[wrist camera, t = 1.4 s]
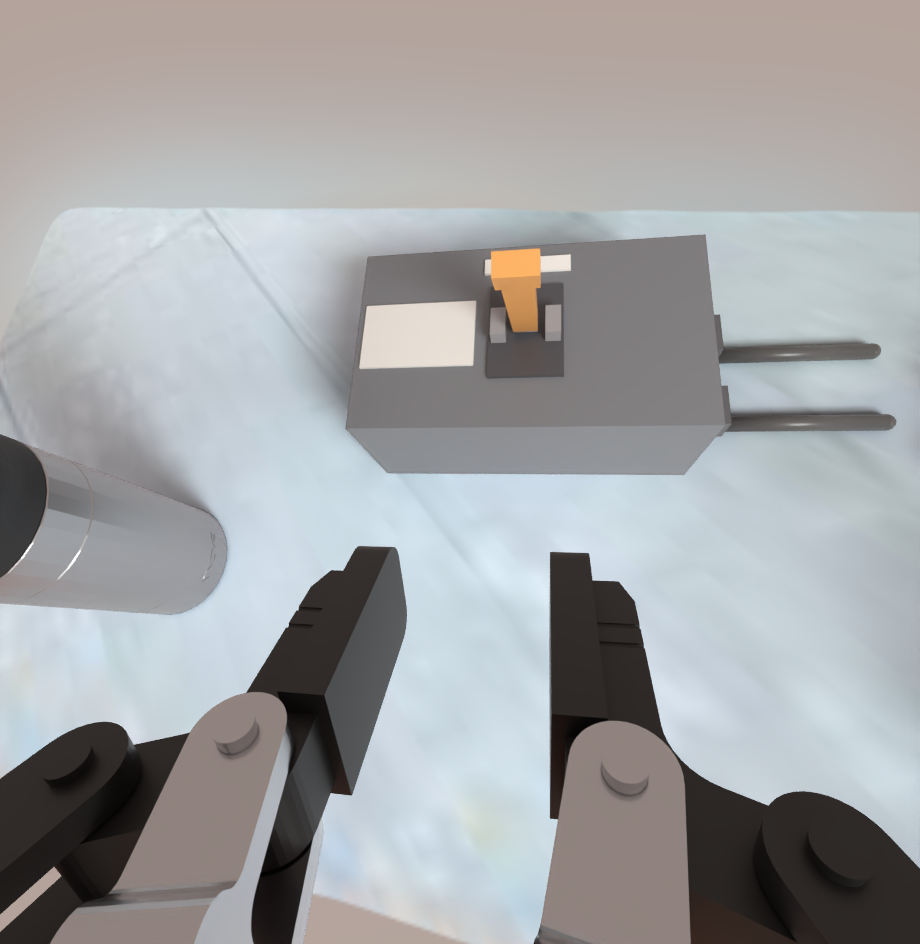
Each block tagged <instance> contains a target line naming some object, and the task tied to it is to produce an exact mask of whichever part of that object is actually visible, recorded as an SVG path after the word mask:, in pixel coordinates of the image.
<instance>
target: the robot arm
mask: <svg viewBox="0 0 920 944" xmlns="http://www.w3.org/2000/svg"><path fill="white" fill-rule="evenodd" d="M226 559H227V543H226V537H225V534H224V532H223V529H222V527H221V526H220V524H219V523H218V521H217V520H216V519H215V518H214V517H212V516H211V515H210V514H208V513H206V512H204V511H203V510H200V509H197V508H195V507H192V506H189V505H187V504H184V503H181V502H179V501H176V500H174V499H171V498H169V497H166V496H163V495H161V494H158V493H155V492H153V491H150V490H147V489H145V488H142V487H139V486H137V485H134V484H131V483H129V482H126V481H123V480H121V479H118V478H115V477H113V476H110V475H107V474H105V473H102V472H99V471H97V470H94V469H91V468H89V467H86V466H83V465H81V464H78V463H75V462H73V461H70V460H67V459H65V458H62V457H59V456H56V455H53V454H51V453H48V452H45V451H43V450H40V449H37V448H35V447H32V446H29V445H27V444H24V443H21V442H19V441H17V440H14V439H11V438H9V437H6V436H3V435H0V604H16V605H31V606H46V607H61V608H76V609H91V610H106V611H121V612H133V613H150V614H167V615H172V614H178V613H182V612H185V611H187V610H190V609H192V608H193V607H195V606H197V605H198V604H200V603H201V602H202V601H203V600H204V599H205V598H206V597H208V596H209V595H210V594H211V592H212V591H213V590H214V588H215V587H216V585H217V584H218V582H219V580H220V578H221V576H222V574H223V571H224V568H225V564H226ZM406 621H407V608H406V600H405V594H404V587H403V581H402V574H401V568H400V561H399V555H398V552H397V549H396V548H395V547H370V546H358V547H357V548H356V549H355V551H354V552H353V554H352V556H351V558H350V560H349V561H348V563H347V565H346V567H345V569H344V570H343V571H334V570H331V571H330V572H329V573H327V574H326V575H325V576H324V577H323V578H321V579H320V580H319V581H318V582H316V583H315V584H314V585H313V586H312V587H311V588H310V589H309V591H308V593H307V594H306V596H305V598H304V599H303V601H302V602H301V604H300V606H299V611H296V612H295V614H294V616H293V617H292V619H291V620H290V622H289V627H288V628H286V629H285V630H284V632H283V634H282V635H281V637H280V639H279V640H278V642H277V643H276V645H275V647H274V648H273V650H272V652H271V653H270V655H269V657H268V658H267V660H266V661H265V663H264V665H263V666H262V668H261V670H260V671H259V673H258V675H257V676H256V678H255V679H254V681H253V683H252V684H251V686H250V688H249V689H248V691H247V692H246V693H244V694H240V695H236V696H234V697H231V698H229V699H227V700H225V701H223V702H221V703H219V704H218V705H216V706H215V707H213V708H212V709H211V710H209V711H208V712H207V713H206V714H205V715H204V716H203V717H202V718H201V719H200V720H199V721H198V722H197V723H196V725H195V726H194V727H193V729H192V730H191V732H190V733H186V734H183V735H178V736H173V737H169V738H164V739H159V740H155V741H150V742H145V743H141V744H136V745H133V743H132V741H131V739H130V738H129V736H128V734H127V732H126V731H125V730H124V728H123V727H121V726H120V725H118V724H115V723H112V722H97V723H92V724H87V725H84V726H81V727H78V728H76V729H74V730H71V731H69V732H67V733H65V734H64V735H62V736H60V737H58V738H57V739H55V740H54V741H52V742H51V743H49V744H48V745H46V746H45V747H43V748H42V749H41V750H39V751H38V752H37V753H35V754H34V755H32V756H31V757H30V758H28V759H27V760H26V761H24V762H23V763H21V764H20V765H19V766H17V767H16V768H14V769H13V770H12V771H10V772H9V773H8V774H6V775H5V776H3V777H2V778H1V779H0V914H1V913H2V912H3V911H4V910H6V909H7V908H8V907H9V906H10V905H11V904H12V903H13V902H15V901H16V900H17V899H18V898H19V897H20V896H21V895H22V894H24V893H25V892H26V891H27V890H28V889H29V888H30V887H32V886H33V885H34V884H35V883H36V882H37V881H38V880H39V879H41V878H42V877H43V876H44V875H45V874H46V873H47V872H48V871H50V870H51V869H52V868H53V867H55V868H56V869H57V871H58V872H59V873H60V874H61V877H60V878H59V879H58V880H57V881H56V882H55V883H54V884H53V885H51V887H49V888H48V889H47V890H46V891H45V892H44V893H43V894H42V895H40V896H39V897H38V898H37V899H36V900H35V901H34V902H33V903H32V904H31V905H30V906H28V907H27V908H26V909H25V910H24V911H23V912H22V913H21V914H20V915H19V916H18V917H16V918H15V919H14V920H13V921H12V922H11V923H10V924H9V925H7V926H6V927H5V928H4V929H3V930H2V931H1V932H0V944H303V941H304V936H305V931H306V926H307V920H308V915H309V910H310V905H311V899H312V894H313V889H314V883H315V878H316V873H317V867H318V862H319V857H320V851H321V846H322V841H323V823H322V819H321V817H322V815H323V812H324V809H325V806H326V804H327V801H328V798H329V795H330V793H335V794H343V795H352V794H353V790H354V787H355V784H356V781H357V778H358V775H359V772H360V769H361V766H362V763H363V760H364V757H365V754H366V751H367V748H368V745H369V742H370V739H371V736H372V733H373V730H374V727H375V724H376V721H377V718H378V715H379V711H380V708H381V705H382V702H383V699H384V696H385V693H386V690H387V687H388V684H389V681H390V678H391V675H392V672H393V669H394V666H395V663H396V660H397V657H398V654H399V651H400V648H401V645H402V642H403V638H404V635H405V629H406ZM550 818H551V819H558V824H557V830H556V836H555V842H554V848H553V854H552V860H551V866H550V872H549V878H548V884H547V890H546V896H545V902H544V908H543V914H542V919H541V924H540V929H539V932H538V935H537V936H536V938H535V941H534V944H920V868H919V867H918V866H917V865H916V864H915V863H914V862H913V861H912V860H911V859H910V858H909V857H908V856H907V855H906V854H905V853H904V851H903V850H902V849H901V848H900V847H899V846H898V845H897V844H896V843H895V842H894V841H893V840H892V839H891V838H890V837H889V836H888V835H887V834H886V833H885V832H884V831H883V830H882V829H881V828H880V827H879V826H878V825H877V824H875V823H874V822H873V821H872V820H870V819H869V818H868V817H867V816H865V815H864V814H862V813H861V812H859V811H858V810H856V809H855V808H853V807H851V806H849V805H847V804H845V803H843V802H842V801H839V800H837V799H834V798H832V797H829V796H826V795H822V794H818V793H813V792H805V791H803V792H791V793H787V794H784V795H782V796H780V797H778V798H776V799H775V800H774V801H773V802H772V803H770V805H769V806H767V805H765V804H762V803H760V802H757V801H755V800H752V799H750V798H747V797H745V796H742V795H740V794H737V793H735V792H732V791H729V790H727V789H724V788H722V787H720V786H718V785H715V784H713V783H711V782H709V781H708V780H706V779H704V778H703V777H701V776H699V775H698V774H697V773H695V772H694V771H693V770H691V769H690V768H689V767H688V766H687V765H686V764H685V763H684V762H683V761H682V760H681V759H680V758H679V757H678V756H677V755H676V753H675V752H674V751H673V750H672V748H671V746H670V745H669V743H668V742H667V740H666V737H665V735H664V733H663V730H662V727H661V722H660V718H659V713H658V708H657V704H656V699H655V694H654V690H653V685H652V680H651V676H650V671H649V666H648V662H647V657H646V652H645V649H644V643H643V638H642V634H641V629H640V628H639V620H638V615H637V610H636V606H635V601H634V600H633V599H632V598H631V596H630V595H629V594H628V593H627V591H626V590H625V589H624V588H623V587H622V585H621V584H620V583H619V582H615V581H592V574H591V565H590V557H589V553H563V552H550Z"/></svg>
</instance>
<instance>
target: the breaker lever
mask: <svg viewBox="0 0 920 944" xmlns="http://www.w3.org/2000/svg"><path fill="white" fill-rule="evenodd" d="M491 280H492V283H493V286H494V289H495V290H501V291H502V295H503V298H504V302H505V305H506V309H507V312H508V316H509V319H510V323H511V326H512V330H513V333H520V332H538V309H537V294H536V288H541V257H540V248H538V249H522V250H507V251H492V252H491Z"/></svg>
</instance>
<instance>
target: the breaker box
mask: <svg viewBox="0 0 920 944" xmlns="http://www.w3.org/2000/svg"><path fill="white" fill-rule="evenodd" d="M538 248H540V257H541V288H536V294H537V309H538V332H520V333H513V330H512V326H511V323H510V319H509V316H508V312H507V309H506V305H505V302H504V298H503V295H502V291H501V290H495V289H494V286H493V283H492V280H491V252H492V251H507V250H522V249H538ZM880 353H881V348H880V346H879V345H877V344H841V345H810V346H779V347H748V348H723V339H722V330H721V321H720V315H714V311H713V302H712V292H711V283H710V273H709V264H708V254H707V245H706V235H691V236H676V237H661V238H646V239H631V240H616V241H601V242H585V243H570V244H555V245H540V246H525V247H510V248H495V249H480V250H464V251H449V252H434V253H419V254H404V255H389V256H374V257H368V260H367V267H366V275H365V283H364V290H363V298H362V306H361V314H360V321H359V329H358V337H357V345H356V352H355V360H354V368H353V376H352V383H351V391H350V399H349V407H348V414H347V422H346V430H347V431H348V432H349V433H350V434H351V435H352V436H353V437H354V438H355V439H356V440H357V441H358V442H359V443H360V444H361V445H362V446H363V447H364V449H365V450H366V451H367V452H368V453H369V454H370V455H371V456H372V457H373V458H374V459H375V460H376V461H377V462H378V463H379V464H380V465H381V466H382V467H383V469H384V470H385V471H386V472H387V473H451V474H636V475H684V474H685V473H686V472H687V471H688V469H689V468H690V467H691V466H692V465H693V463H694V462H695V461H696V460H697V459H698V457H699V456H700V455H701V454H702V453H703V451H704V450H705V449H706V448H707V447H708V445H709V444H710V443H711V442H712V441H713V439H714V438H715V437H716V436H722V435H723V433H724V432H741V431H876V430H890V429H892V428H893V427H894V426H895V425H896V419H895V417H893V416H892V415H889V414H870V415H786V416H731V412H730V403H729V394H728V386H721V378H720V368H719V363H753V362H789V361H825V360H862V359H874V358H876V357H878V356H879V355H880Z"/></svg>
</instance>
